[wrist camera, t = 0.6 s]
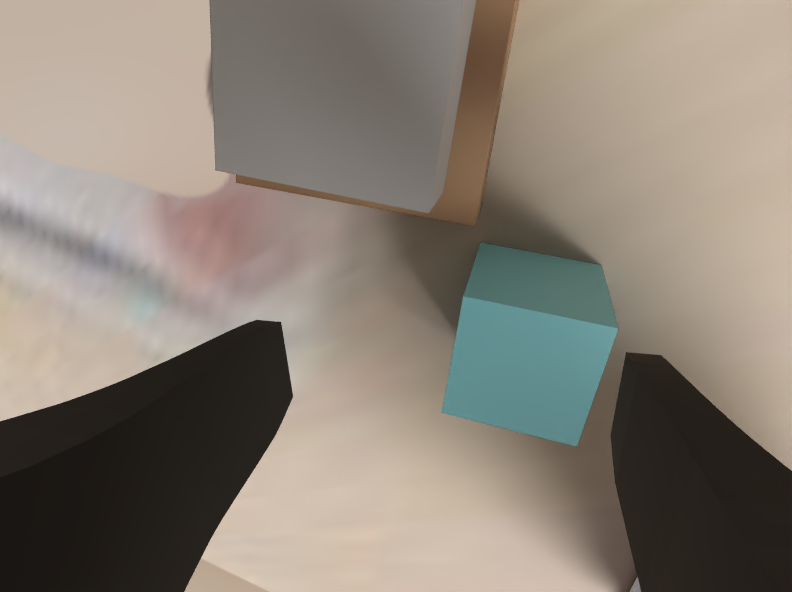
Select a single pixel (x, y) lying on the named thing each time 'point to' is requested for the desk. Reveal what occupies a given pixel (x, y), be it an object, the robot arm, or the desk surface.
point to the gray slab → (340, 94)
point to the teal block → (530, 343)
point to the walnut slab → (459, 121)
